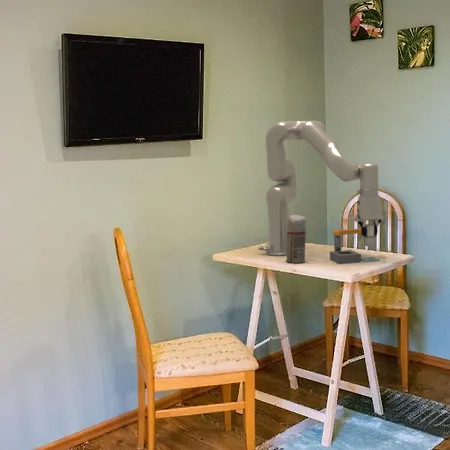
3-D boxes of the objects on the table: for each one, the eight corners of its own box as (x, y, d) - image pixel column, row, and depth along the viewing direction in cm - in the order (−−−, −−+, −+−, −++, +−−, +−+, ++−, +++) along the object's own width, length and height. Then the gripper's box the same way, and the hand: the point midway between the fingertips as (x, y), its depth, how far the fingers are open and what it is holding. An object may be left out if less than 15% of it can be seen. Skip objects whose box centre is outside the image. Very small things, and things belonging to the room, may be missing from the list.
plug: (366, 247, 281) (366, 225, 279) (361, 245, 286) (360, 224, 284) (378, 246, 282) (377, 224, 281) (372, 244, 287) (371, 223, 286)
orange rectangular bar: (335, 237, 289) (335, 230, 288) (332, 236, 292) (332, 229, 292) (364, 235, 293) (364, 228, 292) (360, 234, 296) (360, 227, 296)
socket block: (338, 264, 279) (338, 255, 278) (329, 259, 288) (329, 251, 288) (361, 262, 281) (361, 254, 280) (351, 257, 290) (351, 250, 290)
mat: (364, 262, 281) (364, 260, 281) (357, 259, 287) (357, 257, 287) (380, 261, 282) (380, 259, 282) (372, 257, 289) (372, 256, 289)
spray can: (304, 259, 290) (304, 214, 287) (307, 263, 282) (306, 216, 279) (285, 260, 290) (284, 214, 287) (287, 263, 282) (286, 217, 279)
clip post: (334, 258, 289) (334, 237, 288) (330, 256, 294) (330, 235, 293) (345, 258, 290) (345, 236, 289) (340, 256, 295) (340, 234, 294)
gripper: (354, 194, 275) (354, 238, 278) (391, 192, 279) (391, 235, 281) (347, 193, 282) (347, 235, 285) (383, 190, 286) (383, 232, 289)
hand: (369, 235), depth 283 cm, fingers closed on plug, 4 cm apart
